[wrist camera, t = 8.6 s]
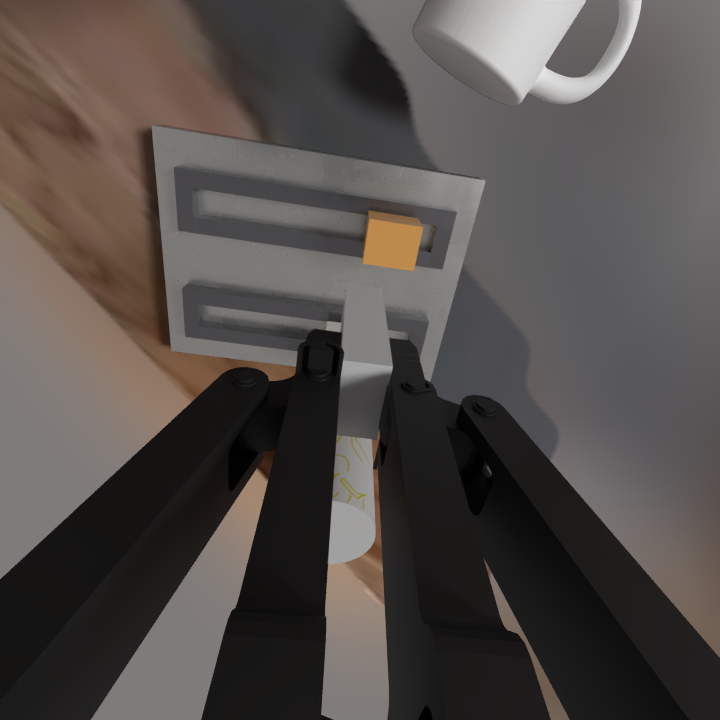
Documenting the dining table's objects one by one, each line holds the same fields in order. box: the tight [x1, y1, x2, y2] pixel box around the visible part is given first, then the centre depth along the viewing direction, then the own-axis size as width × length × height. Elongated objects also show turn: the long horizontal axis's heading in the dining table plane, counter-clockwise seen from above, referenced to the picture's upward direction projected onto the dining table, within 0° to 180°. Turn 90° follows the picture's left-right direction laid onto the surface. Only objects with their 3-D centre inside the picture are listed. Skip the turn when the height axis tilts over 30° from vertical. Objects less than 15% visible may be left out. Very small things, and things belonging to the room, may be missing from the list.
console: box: [152, 125, 485, 382], centre depth 34 cm, size 18×24×3 cm
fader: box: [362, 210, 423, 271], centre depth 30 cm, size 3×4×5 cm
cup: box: [328, 435, 375, 564], centre depth 40 cm, size 8×8×12 cm
